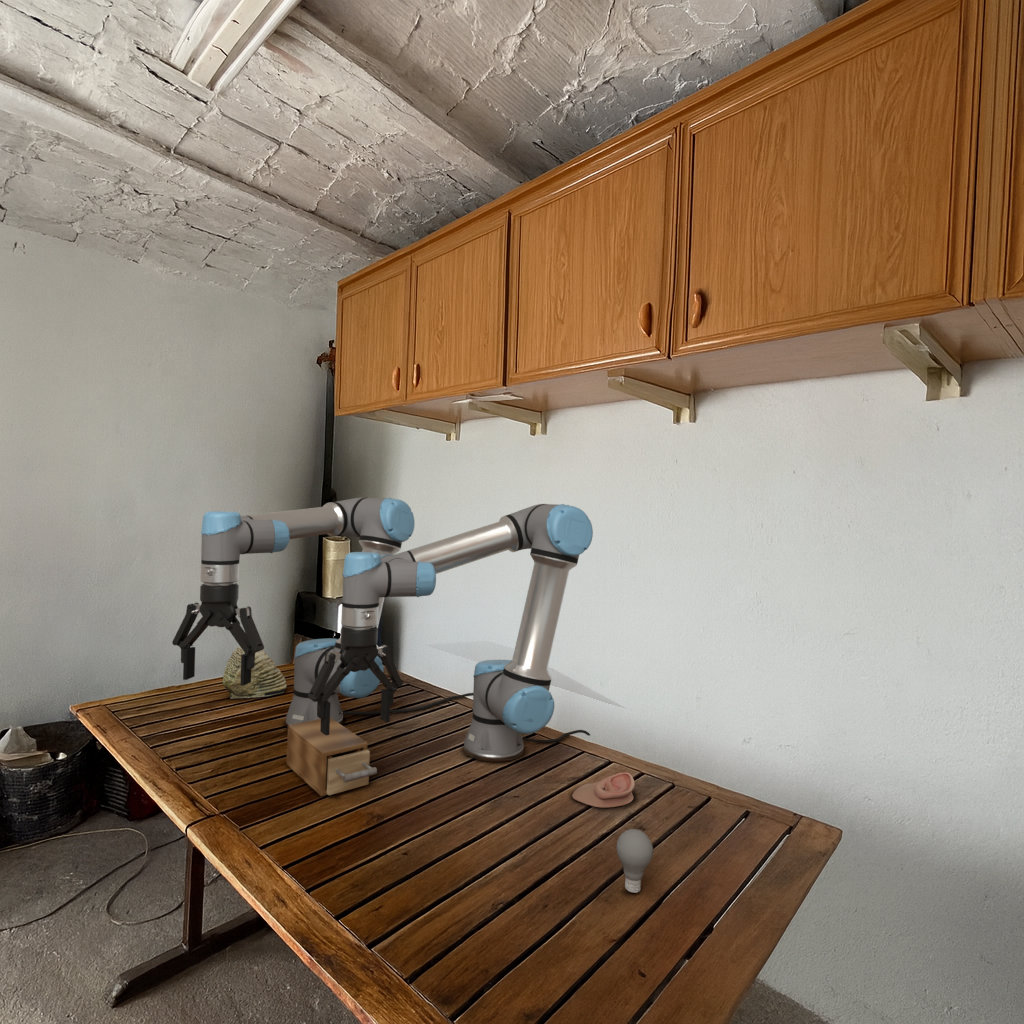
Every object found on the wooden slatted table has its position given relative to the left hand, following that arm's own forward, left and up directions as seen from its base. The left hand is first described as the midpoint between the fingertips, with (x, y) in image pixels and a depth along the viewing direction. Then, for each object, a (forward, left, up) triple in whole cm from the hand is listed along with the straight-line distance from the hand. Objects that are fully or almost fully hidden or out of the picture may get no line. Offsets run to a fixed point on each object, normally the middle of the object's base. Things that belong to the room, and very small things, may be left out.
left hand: (217, 681), depth 137 cm
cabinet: (-20, +13, -23) cm, 32 cm away
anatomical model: (-55, +65, -23) cm, 88 cm away
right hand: (-17, +27, -7) cm, 32 cm away
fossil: (-38, -50, -23) cm, 67 cm away
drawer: (-19, +18, -22) cm, 34 cm away
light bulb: (-28, +86, -23) cm, 93 cm away
